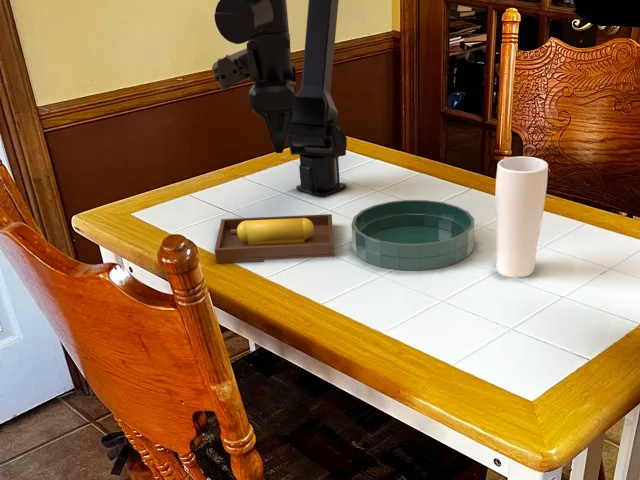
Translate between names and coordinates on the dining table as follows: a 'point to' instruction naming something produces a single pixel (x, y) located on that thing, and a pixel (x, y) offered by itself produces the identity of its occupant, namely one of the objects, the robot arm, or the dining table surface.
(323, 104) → the robot arm
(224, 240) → the tray
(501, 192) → the drinking glass
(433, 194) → the dining table surface
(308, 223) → the yellow gas canister
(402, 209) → the green round cake pan
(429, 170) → the dining table surface
